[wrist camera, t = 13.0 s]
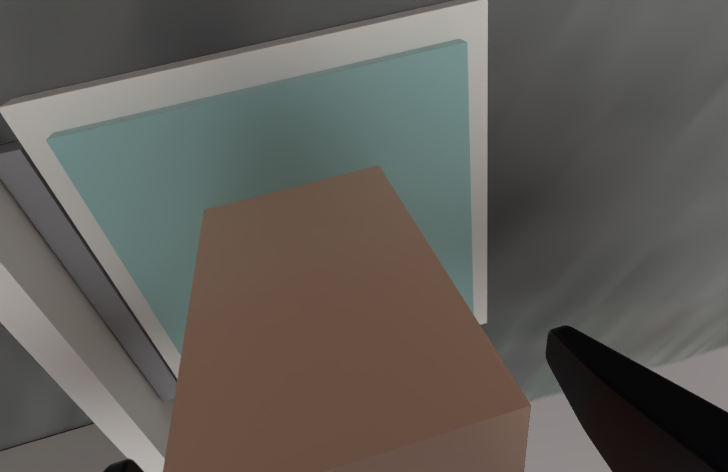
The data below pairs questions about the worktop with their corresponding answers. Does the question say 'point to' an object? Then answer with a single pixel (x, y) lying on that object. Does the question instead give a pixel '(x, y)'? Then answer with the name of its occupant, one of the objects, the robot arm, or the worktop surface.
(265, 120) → the lid
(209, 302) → the block
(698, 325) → the worktop surface
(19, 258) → the pale grey square frame
